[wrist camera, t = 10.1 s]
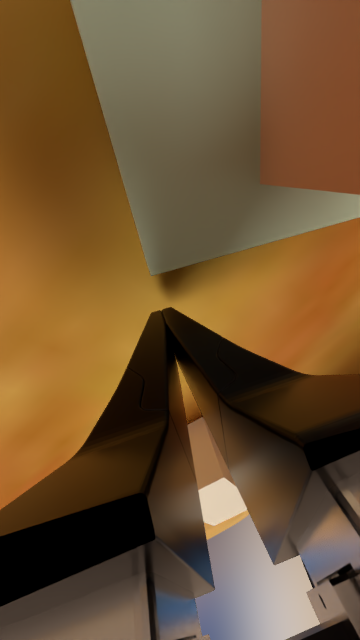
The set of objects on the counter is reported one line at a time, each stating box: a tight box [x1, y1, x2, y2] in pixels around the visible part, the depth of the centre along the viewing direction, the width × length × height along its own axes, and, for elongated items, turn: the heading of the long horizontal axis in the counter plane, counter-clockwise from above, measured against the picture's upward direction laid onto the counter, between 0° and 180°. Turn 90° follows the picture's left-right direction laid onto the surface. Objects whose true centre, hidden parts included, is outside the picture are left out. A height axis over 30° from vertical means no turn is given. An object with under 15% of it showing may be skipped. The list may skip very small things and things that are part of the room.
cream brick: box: [187, 417, 247, 526], centre depth 17 cm, size 8×4×4 cm, turn 28°
